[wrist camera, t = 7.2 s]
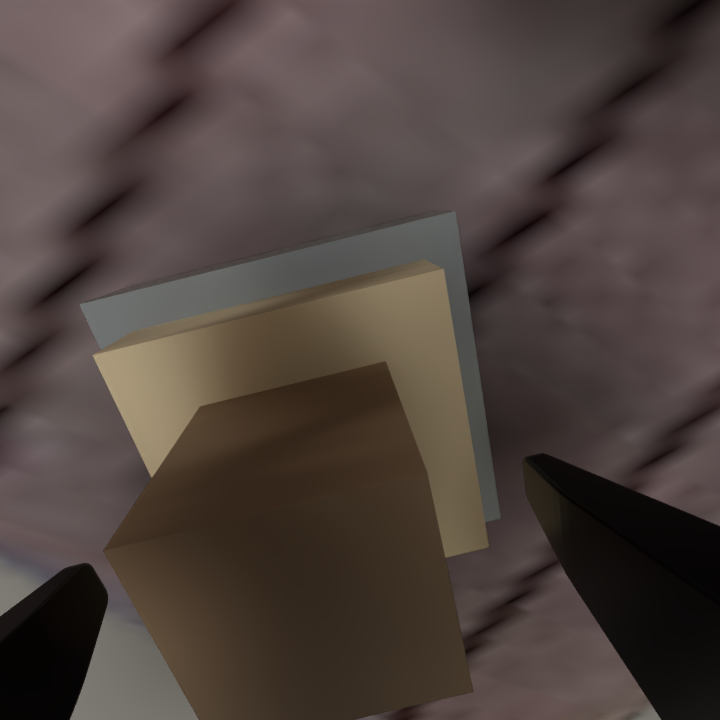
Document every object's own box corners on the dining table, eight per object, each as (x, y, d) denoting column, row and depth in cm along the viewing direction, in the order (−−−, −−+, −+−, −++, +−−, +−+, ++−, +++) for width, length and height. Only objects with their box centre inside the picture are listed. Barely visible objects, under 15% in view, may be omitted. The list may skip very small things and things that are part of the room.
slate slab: (433, 211, 13) (455, 210, 11) (476, 474, 16) (500, 518, 14) (123, 287, 13) (79, 304, 11) (229, 534, 17) (212, 586, 14)
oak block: (424, 259, 11) (443, 268, 9) (467, 501, 14) (489, 547, 12) (132, 331, 11) (92, 355, 9) (231, 557, 14) (216, 612, 12)
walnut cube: (385, 360, 10) (427, 473, 6) (420, 513, 11) (473, 692, 7) (200, 406, 10) (103, 551, 6) (258, 551, 11) (216, 750, 7)
